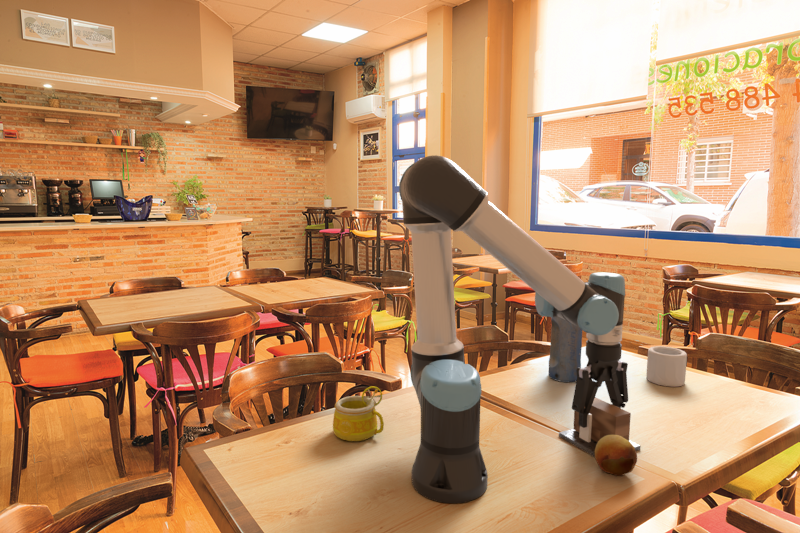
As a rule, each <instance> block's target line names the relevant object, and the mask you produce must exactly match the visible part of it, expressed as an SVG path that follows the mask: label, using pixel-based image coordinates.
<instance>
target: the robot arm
mask: <svg viewBox="0 0 800 533" xmlns="http://www.w3.org/2000/svg"><path fill="white" fill-rule="evenodd" d="M398 186H399V187H398V190H399V191H398V192H399V197H400V200H401V204H402V218H403V220H402V221H403V226H404V227H405V228H406V229H408V230H409V232H410V234H411V250H412V251H411V252H412V268H413V269H412V270H413V284H414V300H415V302H414V303H415V304H414V305H415V315H416V316H415V318H416V334H417V340H415V342H413V344H412V345H411V347H410V348H411V367H410V379H411V384H412V385H413V386H412V387H413V388H414V390H415V391H414V392H415V393H416V396H417V400H418V404H419V407H420V443H419V448H418V450H417V453H416V455H415V459H414V462H413V464H412V467H411V484H412V487H413V488H414V490H415V491H417V493H418V494H420V495H421V496H422V497H423V498H424V497H425V498H426V499H429V500H432V501H435V502H439V503H443V504H462V503H467V502H471V501H473V500H476V499H478V498H480V497H481V496H482V495H484V494H485V492H486V490H487V488H488V475H489V474H488V470H487V466H486V464H485V461H484V458H483V454H482V451H481V448H480V433H481V432H480V428H481V427H480V426H481V397H482V391H483V390H482V384H481V376H480V374H479V371H477V369H476V368H475V367H474V366H472V365H471V364H469V363H465V351H464V348H465V347H464V344H463V342H462V341H460V340H459V339H458V337H457V328H456V323H457V322H456V309H455V308H456V307H455V305H456V304H455V288H454V287H455V285H454V284H455V283H454V267H453V266H454V265H453V244H452V231H453V232H463V233H464V234H465V235H466V236H468V238H470V239H471V240H473V242H475V243H476V244H477V245H478V246H479V247H480V248H482V249H483V250H484V251H486V252H487V253H488V254H489V255H490V256H492V257H493V258H494V259H495V260H497V261H498V262H499V263H500V264H502V265H503V266H504V267H505V268H506V269H507V270H509V272H511V273H513V275H515V277H517V278H519V279H520V280H521V281H522V282H523V283H524V284H525V285H527V286H528V287H529V288H530V289H531V290H533V291H534V292H535V294H534V304H535V309H536V312H537V313H538V315H540V316H541V317H545V318H547V317H548V318H550V319H551V318H553V317H561V318H563V319H564V320H566V321H568V322H570V323H572V324H574V325H576V326H577V327H579V328H581V329H582V332H584V333H586V334H585V335H586V336H585V337H586V339H587V340H586V341H585V356H586V357H587V363H586V366H585V367H581V368H579V367H578V368H577V370H576V371H577V381H575V387H574V392H573V399H572V403H571V404H572V405H571V410H573V411H574V410H575V411H577V412H579V423H578V424H579V426H580V432H579V438H581V439H583V440H585V441H587V442H591V426H592V414H590V413H589V412H590V409H591V407H592V404H593V401H594V398H595V397H596V395H597V392H598V390H599V388H600V387H602V384H603V382H604V383H605V386H606V390H607V394H608V396H609V400H610V404H611V405H614V406H616V407H618V408H620V409H624V408H625V407H626V403H628V402H629V391H628V377H627V376H628V374H627V372H628V364H629V363H628V362H625V361H622V360H621V359H622V349H623V348H622V347H623V346H622V345H623V344H622V343H621V342H622V341H623V324H624V314H625V297H626V279H625V277H624V276H623V275H622V274H619V273H614V272H592V273H590V275H589V276H588V277H589V278H588V281H586V282H584V280H582V279H581V278H580V277H579V276H578V275H577V274H576V273H574V272H573V271H572V270H571V269H570V268H568V267H567V266H566V265H565V264H564V263H562V261H560V260H559V259H558V258H556V256H555V255H553V254H552V253H551V252H550V251H549V250H547V249H546V248H545V247H544V246H542V245H541V244H540V243H539V242H538V241H537V240H536V239H534V238H533V237H532V236H531V235H530V234H528V232H526V231H525V230H524V229H523V228H522V227H521V226H519V225H518V224H517V223H516V222H514V221H513V220H512V219H511V218H510V217H509V216H507V215H506V214H505V213H504V212H503V211H501V210H500V209H499V208H498V207H497V206H496V205H494V203H492V202H491V201H490V200H489V193H488V192H487V190H486V189H484V188H483V187H482V186H481V185H479V184H478V183H477V182H476V180H474V179H473V178H472V177H471V176H470V175H469V174H468V173H467V172H466V171H465V170H464V169H462V168H461V167H460V166H459V165H458V164H457V163H456V162H454V161H453V160H452V159H450V158H448V157H445V156H443V155H437V154H436V155H428V156H424V157H422V158H420V159H418V160H417V161H415V162H414V163H412V164H411V165H409V166H408V167H407V169H405V171H403V174H402V176H401V178H400V180H399V185H398ZM584 406H585V408H584Z"/></svg>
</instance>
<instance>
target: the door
mask: <svg viewBox="0 0 800 533" xmlns="http://www.w3.org/2000/svg"><path fill="white" fill-rule="evenodd" d="M611 404H612V403H609V402H606V401H605V400H602V399H600V398H598V397H596V396H595V398H594V401H593V404H592V407H591V409H590V412H589V413H590V414H592V426H591V439H592V440H594V441H596V442H598V441H599V440H600V439H601V438H603V437H604V436H607V435H619V436H622V437H623V438H625V439H626V440H628V441H629V440H630V429H631V416H632V414H631V412H629V411H627V410H625V409H624V408H621V409H620V408H618V407H616V406H614V405H611ZM584 408H585V406H584ZM573 411H574V412H573V429H574V430H576V431H578V432H580V426H579V424H578V423H579V412H577V411H575V410H573Z"/></svg>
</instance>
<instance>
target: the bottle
mask: <svg viewBox="0 0 800 533" xmlns="http://www.w3.org/2000/svg"><path fill="white" fill-rule="evenodd" d="M550 321H551V323H550V324H551V326H550V328H551V330H550V346H549V347H550V349H549V358H548V359H549V360H548V377H549V378H551V379H552V380H554V381H558V382H561V381H562V382H563V383H576V381H577V371H576V370H577V368H578V367H579V368H582V362H581V361H582V345H583V343H582V342H583V341H582V340H583V330H582V329H581V328H579V327H577V326H576V325H574V324H572V323H570V322H568V321H566V320H564V319H563V318H561V317H553V318H551V317H550Z"/></svg>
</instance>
